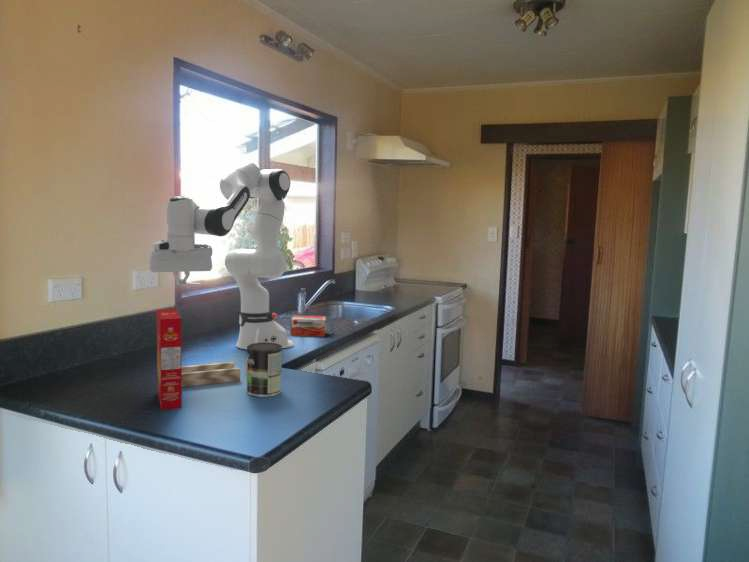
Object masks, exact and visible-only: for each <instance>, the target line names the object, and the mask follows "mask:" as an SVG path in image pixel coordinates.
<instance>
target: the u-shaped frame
mask: <svg viewBox="0 0 749 562" xmlns="http://www.w3.org/2000/svg"><path fill="white" fill-rule="evenodd" d="M181 366H182V388H184V387H194V386H196V387H197V386H205V385H212V384H213V385H214V384H222V383H233V382H241V368H240V367H235V362H234V361H227V362H219V363H206V364H205V363H204V364H196V365H181Z"/></svg>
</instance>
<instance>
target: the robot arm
mask: <svg viewBox="0 0 749 562" xmlns="http://www.w3.org/2000/svg"><path fill="white" fill-rule="evenodd" d="M290 187H291V177H290V175H289V174H288V172H287V171H285V170H283V169H281V168H280V169H279V168H275V169H262V170H261V168H260V166H259V165H258V164H257V163H256V162H254V161H253V160H243V161H241V162H240V163H238V164H236V165H235V166H233V167H232V168H231V169H229V170H228V171H227V172H226V173H225V174H224V175H223V176H222V178H221V180H220V182H219V189H220V191H221V194H222V195H223V197H224V198H225V199H226V200H227V201H226V202H225V204H223V205H219V206H202V205H200V204H198V203H196V202H195V201H194V200H193V197H192V196H190V195H177V196H173V197H171V198H169V200H168V204H167V207H166V224H167V227H168V228H167V234H166V235H167V236H166V239H163V240H160V241H157V242H154V243H152V244H153V245H152V248H153V250H152V251H151V253H150V257H149V265H148V266H149V267H148V268H149V271H150V272H151V273H172V275H173V277H174V279H175V280H176V285H177V286H186V285H187V280H188V278H189V277H190V274H191V272H211V271H212V269H213V261H212V255H213V248H212V246H210V245H209V244H208V243H207V244H206V243H205V244H199V243H198V244H197V243H195V238H196V237H195V234H197V235H208V236H215V237H216V236H217V237H225V236H227V235H228V234H229V232H231V230H232V229H233V226H234V224H235V222H236V219H237V218H238V217H239V215H240V214H241V213H242V211H243V210H244V208H245V207H246V205H247V203H248V202H249V201H250V199H259V206H258V208H257V211H256V213H255V217H254V219H253V223H252V226H251V229H250V236H251V238H252V239H253V241H254V242H256V244H257V247H256V249H255V248H253V249H252V248H236V249H231V250H230V251H228V253H227V254H226V256H225V259H224V264H225V265H224V266H225V269H226V271H227V272H228V273H229V274H230V275H231V276H232V277H233V278H234V280H235V282H236V284H237V286H238V289H239V293H240V295H239V296H240V311H239V319H238V320H239V334H238V339H237V343H236V345H235V346H236V348H239V349H242V350H247V346H248V345H250V344H254V343H276V344H279V345H281V346H282V349H287V348H292V347H294V342H293V341H292V340H290V339H289V338H288V332H287V330H286V329H285V328H284V327H283V326H282V325H280V324H279V323H278V322H276V321H275V320H274V319H277V318H278V314H277V313H276V312H272V311H270V293H269V291H268V289H267V288H265V287H264V286H263V285H262V284H261V283H260V281H259V278H261V279H262V278H264V279H273V278H279V277H282V276H283V274H284V273H285V271H286V269H287V260H286V258H285V256H284V254H283V253H282V252H281V250H280V248H279V244H278V241H279V235H280V232H281V228H282V224H283V221H284V217H285V208H286V206H285V205H286V204H285V201H284V199H285V198H286V197H287V196H288V193H289V191H290ZM180 272H181V273H182V272H183V273H184V277H183V279H182V278H181V279H180V278H179V277H178V276H179V273H180Z"/></svg>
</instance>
